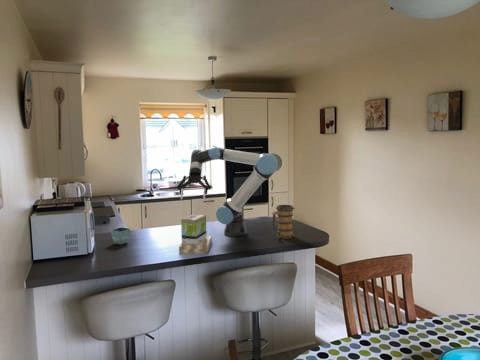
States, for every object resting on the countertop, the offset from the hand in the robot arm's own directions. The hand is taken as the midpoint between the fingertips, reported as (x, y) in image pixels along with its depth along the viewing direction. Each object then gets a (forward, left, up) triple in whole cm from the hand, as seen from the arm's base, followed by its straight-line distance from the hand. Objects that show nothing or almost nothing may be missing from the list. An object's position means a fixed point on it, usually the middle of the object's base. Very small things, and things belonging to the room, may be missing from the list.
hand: (192, 198), depth 221 cm
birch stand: (-2, +3, -29) cm, 29 cm away
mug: (-55, -18, -29) cm, 64 cm away
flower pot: (+47, -8, -29) cm, 56 cm away
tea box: (-1, +4, -25) cm, 26 cm away
